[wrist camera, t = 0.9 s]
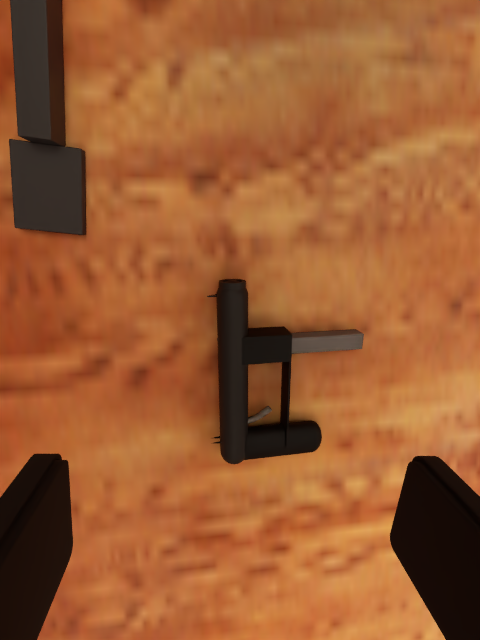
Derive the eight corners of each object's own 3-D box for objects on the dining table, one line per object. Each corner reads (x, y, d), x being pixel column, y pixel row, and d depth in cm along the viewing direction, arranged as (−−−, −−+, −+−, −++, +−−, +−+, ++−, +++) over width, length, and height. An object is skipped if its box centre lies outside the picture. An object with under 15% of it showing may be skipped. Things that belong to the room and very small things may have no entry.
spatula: (5, -19, 25) (-19, -49, 22) (83, -4, 26) (69, -32, 23) (20, 227, 29) (1, 227, 27) (86, 234, 30) (74, 235, 27)
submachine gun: (373, 278, 32) (205, 283, 29) (355, 455, 37) (212, 473, 34) (356, 273, 35) (203, 278, 32) (341, 437, 40) (209, 452, 38)
